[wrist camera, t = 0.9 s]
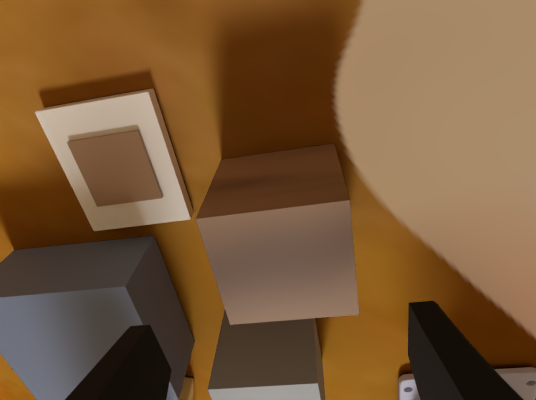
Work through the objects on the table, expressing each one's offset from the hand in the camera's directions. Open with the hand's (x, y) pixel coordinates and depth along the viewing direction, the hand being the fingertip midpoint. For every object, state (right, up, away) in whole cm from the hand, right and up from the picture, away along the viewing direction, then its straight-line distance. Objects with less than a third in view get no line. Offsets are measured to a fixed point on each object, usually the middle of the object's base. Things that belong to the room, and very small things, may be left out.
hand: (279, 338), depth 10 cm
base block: (-9, -2, +11) cm, 15 cm away
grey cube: (0, -4, +12) cm, 12 cm away
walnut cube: (+1, +4, +7) cm, 8 cm away
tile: (-7, +6, +6) cm, 11 cm away
